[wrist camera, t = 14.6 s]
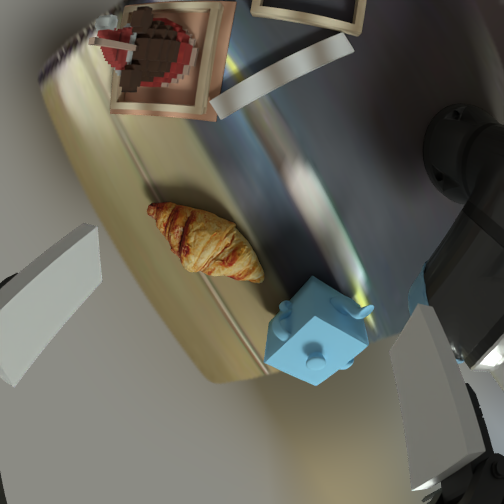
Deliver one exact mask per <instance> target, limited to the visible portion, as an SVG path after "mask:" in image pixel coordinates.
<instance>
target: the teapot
mask: <svg viewBox="0 0 504 504" xmlns="http://www.w3.org/2000/svg"><path fill="white" fill-rule="evenodd" d="M279 309H280V311H279V312H278V313H277V315H276V316H275V317H274V318H273V319H272V320H271V321H270V322H269V326H268V334H267V342H266V349H265V357H264V363H266V364H268V365H271V366H273V367H275V368H277V369H279V370H281V371H283V372H285V373H288V374H290V375H292V376H294V377H296V378H299V379H301V380H303V381H306V382H308V383H310V384H313V385H315V386H317V385H318V384H320V383H321V382H323V381H324V380H325V379H327V378H328V377H329V376H330V375H332V374H333V373H335V372H336V371H337V370H339V369H347V368H348V367H350V366H351V365H352V364H353V361H354V357H355V356H356V355H358V354H359V353H360V352H361V351H362V350H364V349H365V348H366V347H367V346H368V345H369V342H368V337H367V333H366V328H365V324H364V320H363V318H365V317H366V316H368V315H369V314H370V313H371V312H372V311H373V309H374V306H373V305H368V306H365V307H362V308H361V307H360V305H359V304H357V303H356V302H355V301H354V300H352V299H351V298H349V297H347V296H344V295H343V294H341V293H340V292H338V291H336V290H335V289H333V288H332V287H330V286H328V285H327V284H325V283H324V282H322V281H320V280H319V279H317V278H316V277H314V276H311V277H310V278H309V280H308V281H307V282H306V283H305V284H304V285H303V286H302V287H301V288H300V290H299V291H298V292H297V293H296V294H295V295H294V296H293V297H292V298H291V299H290V300H289V301H287V300H285V301H283V302H281V303H280V305H279Z"/></svg>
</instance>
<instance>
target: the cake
mask: <svg viewBox="0 0 504 504" xmlns="http://www.w3.org/2000/svg"><path fill="white" fill-rule="evenodd" d="M152 10H153V8H151V7H149V6H141V7H137V10H135V11H133V14H132V19H131V23H127V25H126V26H124V28H122V29H118V30H117V31H116V27H117V22H118V19H117V16H115V15H106V16H99V19H96V23H95V28H96V31H98V35H97V36H99V38H97V37H93V38H90V39H89V44H88V45H96V46H101V48H100V49H102V52H103V55H104V58H106V59H105V61H108V64H111V67H115V68H114V70H116V71H115V73H117V76H121V77H120V84H119V87H122V91H121V92H130V93H132V92H137V87H140V86H143V87H169V83H179V79H184V75H189V73H190V68H191V66H194V67H196V61H197V57H198V52H199V48H195V43H196V39H192V34H188V32H189V30H187V29H182V26H180V25H178V24H176V23H174V22H173V21H171V20H169V19H167V18H153V17H154V14H152Z"/></svg>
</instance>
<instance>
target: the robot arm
mask: <svg viewBox="0 0 504 504" xmlns="http://www.w3.org/2000/svg"><path fill="white" fill-rule="evenodd" d="M423 157H424V164H425V168H426V171H427V174H428V176H429V178H430V180H431V182H432V183H433V185H434V186H435V187H436V188H437V189H438V190H439V191H440V192H441V193H442V194H443V195H445V196H446V197H447V198H449V199H450V200H452V201H454V202H456V203H459V204H465V206H464V207H463V209H462V210H461V212H460V213H459V215H458V217H457V218H456V220H455V222H454V223H453V225H452V226H451V228H450V230H449V231H448V233H447V234H446V236H445V237H444V239H443V240H442V242H441V243H440V244H439V246H438V247H437V249H436V250H435V252H434V253H433V254H432V256H431V257H430V259H429V260H428V261H426V262H425V263H424V265H423V267H422V270H421V272H420V274H419V275H418V277H417V278H416V280H415V281H414V283H413V284H412V286H411V288H410V290H409V294H408V301H409V303H408V307H409V312H410V315H411V317H410V318H409V320H408V322H407V323H406V325H405V327H404V328H403V330H402V332H401V333H400V335H399V337H398V338H397V340H396V341H395V343H394V345H393V346H392V348H391V349H390V351H389V354H390V358H391V363H392V367H393V371H394V377H395V381H396V386H397V391H398V397H399V401H400V407H401V413H402V419H403V425H404V432H405V438H406V446H407V453H408V461H409V471H410V480H411V491H413V490H421V489H429V488H431V487H432V486H434V485H436V484H437V483H439V482H441V487H442V488H440V489H438V490H437V491H435V492H433V493H431V494H429V495H427V496H426V497H425V498H424V499H423V500H422V501H423V502H425V501H427V500H429V499H431V498H432V500H431V501H430V502H428V503H427V504H504V456H503V455H501V454H499V453H494V451H493V448H492V445H491V441H490V437H489V434H488V430H487V427H486V424H485V421H484V418H482V416H483V414H482V411H481V408H479V406H480V405H479V402H478V399H477V397H476V394H475V392H474V391H473V389H472V388H471V387H470V385H469V384H468V383H465V382H464V379H463V377H462V374H461V371H460V369H459V366H458V364H460V363H463V362H464V361H465V363H466V364H467V365H468V367H469V368H470V369H471V370H472V371H486V372H489V373H491V375H492V376H493V378H494V379H495V380H496V382H497V383H498V385H499V386H500V387H501V389H502V390H503V392H504V125H502V124H500V123H499V122H498V121H497V120H495V119H494V118H493V117H492V116H491V115H490V114H489V113H487V112H486V111H484V110H483V109H481V108H478V107H476V106H472V105H466V104H455V105H451V106H448V107H446V108H444V109H443V110H441V111H440V112H439V113H438V114H437V115H436V116H435V117H434V118H433V120H432V121H431V123H430V125H429V127H428V129H427V132H426V135H425V139H424V146H423ZM101 282H102V274H101V263H100V253H99V240H98V226H94V225H90V224H86V223H83V224H81V225H80V226H78V227H77V228H76V229H74V230H73V231H72V232H70V233H69V234H67V235H66V236H65V237H63V238H62V239H61V240H59V241H58V242H57V243H56V244H54V245H53V246H52V247H50V248H49V249H48V250H46V251H45V252H44V253H43V254H41V255H40V256H39V257H38V258H36V259H35V260H34V261H33V262H31V263H30V264H29V265H28V266H26V267H25V268H24V269H23V270H22V271H21V272H19V273H16V274H14V275H12V276H10V277H8V278H6V279H5V280H3V281H2V282H1V283H0V378H2V379H3V380H4V381H6V382H7V383H8V384H10V385H11V386H13V387H15V386H16V384H17V383H18V382H19V381H20V379H21V378H22V376H23V375H24V374H25V372H26V371H27V370H28V369H29V367H30V366H31V365H32V363H33V362H34V361H35V359H36V358H37V357H38V355H39V354H40V353H41V352H42V351H43V349H44V348H45V347H46V346H47V344H48V343H49V342H50V341H51V339H52V338H53V337H54V336H55V335H56V333H57V332H58V331H59V330H60V328H61V327H62V326H63V325H64V324H65V323H66V321H67V320H68V319H69V318H70V317H71V316H72V315H73V313H74V312H75V311H76V310H77V309H78V308H79V307H80V305H81V304H82V303H83V302H84V301H85V300H86V299H87V298H88V297H89V295H90V294H91V293H92V292H93V291H94V290H95V289H96V288H97V287H98V286H99V284H100V283H101ZM0 504H7V501H6V497H5V493H4V489H3V484H2V479H1V473H0Z"/></svg>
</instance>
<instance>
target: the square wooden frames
mask: <svg viewBox="0 0 504 504" xmlns="http://www.w3.org/2000/svg"><path fill="white" fill-rule="evenodd" d="M263 1H264V0H252V5H251V10H250V12H251V14H252V16H255V17H264V18H271V19H278V20H285V21H291V22H297V23H302V24H307V25H312V26H317V27H322V28H326V29H330V30H334V31H338V32H342V33H339V34H337V35H334V36H332V37H330V38H327V39H325V40H323V41H320V42H318V43H316V44H314V45H311V46H309V47H307V48H305V49H303V50H301V51H299V52H297V53H294V54H292V55H290V56H288V57H286V58H284V59H282V60H280V61H278V62H276V63H275V64H273V65H271V66H269V67H267V68H265V69H263V70H261V71H260V72H258V73H256V74H254V75H252V76H251V77H249V78H247V79H245V80H243V81H242V82H240V83H238V84H237V85H235V86H233V87H232V88H230V89H228V90H227V91H225V92H223V93H222V94H221V87H222V81H223V75H224V69H225V63H226V57H227V51H228V46H229V40H230V35H231V29H232V24H233V19H234V14H235V9H236V4H237V2H231V1H170V2H155V3H144V4H135V5H128V6H125V7H124V11H123V16H122V21H121V26H120V29H122V28H124V26H126V25H127V23H131V19H132V14H133V11H135V10H137V7H141V6H149V7H151V8H153V10H152V14H154V17H153V18H167V19H169V20H171V21H173V22H174V23H176V24H178V25H180V26H182V29H187V30H189V32H188V34H192V39H196V43H195V48H199V52H198V57H197V61H196V67H194V66H191V68H190V73H189V75H184V79H179V83H169V87H143V86H140V87H137V92H132V93H130V92H121V91H122V87H119V84H120V77H121V76H117V73H115V71H116V70H114V72H113V81H112V91H111V102H110V109H111V111H110V114H133V115H151V116H165V117H177V118H187V119H197V120H206V121H214V122H216V121H217V114H218V116H219V117H220V119H224V118H225V117H227V116H229V115H230V114H232V113H234V112H235V111H237V110H239V109H241V108H242V107H244V106H246V105H247V104H249V103H251V102H253V101H254V100H256V99H258V98H260V97H262V96H264V95H265V94H267V93H269V92H271V91H273V90H275V89H277V88H278V87H280V86H282V85H284V84H286V83H288V82H290V81H292V80H294V79H296V78H298V77H300V76H302V75H304V74H306V73H308V72H310V71H313V70H315V69H317V68H319V67H321V66H323V65H326V64H328V63H330V62H332V61H335V60H337V59H339V58H341V57H344V56H346V55H349V54H351V53H353V52H354V49H353V48H352V46H351V44H350V43H349V41H348V39H347V38H346V36H345V35H344V33H346V34H350V35H353V36H357V37H358V36H359V35H360V34H361V33H362V26H363V20H364V14H365V7H366V0H356V2H355V9H354V15H353V21H352V24H351V23H348V22H344V21H340V20H336V19H332V18H328V17H324V16H319V15H314V14H309V13H304V12H299V11H293V10H287V9H280V8H273V7H265V6H263ZM114 68H115V67H114Z"/></svg>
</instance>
